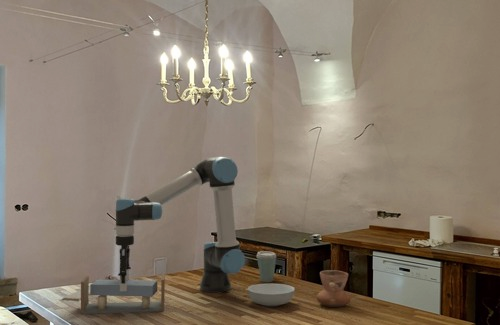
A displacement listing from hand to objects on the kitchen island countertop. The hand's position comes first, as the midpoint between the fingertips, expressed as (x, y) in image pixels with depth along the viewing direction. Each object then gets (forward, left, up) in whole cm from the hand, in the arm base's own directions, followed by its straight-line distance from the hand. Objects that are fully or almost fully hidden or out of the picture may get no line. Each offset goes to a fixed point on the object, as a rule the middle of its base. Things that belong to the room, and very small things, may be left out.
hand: (124, 287), depth 217 cm
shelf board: (0, 0, -2) cm, 2 cm away
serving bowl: (-63, 0, -9) cm, 64 cm away
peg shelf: (0, 0, -9) cm, 9 cm away
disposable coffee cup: (-69, -44, -9) cm, 82 cm away
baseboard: (+21, -31, -10) cm, 39 cm away
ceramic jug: (-90, +5, -9) cm, 90 cm away
